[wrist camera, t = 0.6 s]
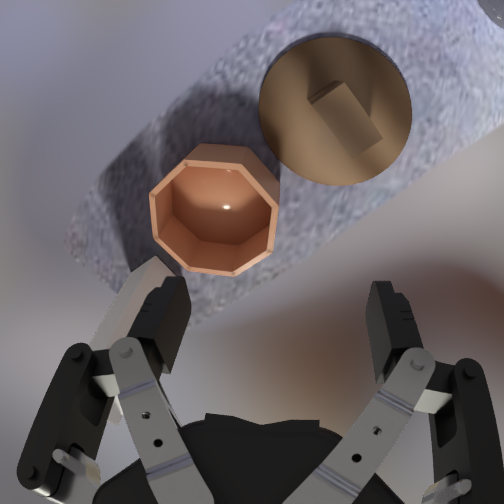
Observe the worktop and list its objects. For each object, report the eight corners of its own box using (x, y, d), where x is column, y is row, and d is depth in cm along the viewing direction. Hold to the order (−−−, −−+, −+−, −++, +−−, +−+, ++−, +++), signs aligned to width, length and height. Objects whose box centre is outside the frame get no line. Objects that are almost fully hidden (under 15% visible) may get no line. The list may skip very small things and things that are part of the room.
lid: (349, 11, 22) (364, 0, 17) (432, 134, 28) (457, 149, 23) (227, 98, 29) (215, 105, 24) (320, 208, 35) (326, 234, 30)
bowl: (225, 120, 30) (213, 133, 25) (300, 206, 35) (302, 233, 30) (149, 191, 36) (128, 214, 31) (220, 261, 40) (210, 291, 35)
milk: (155, 254, 41) (83, 392, 23) (185, 284, 43) (133, 425, 25) (129, 272, 43) (60, 399, 25) (158, 300, 46) (104, 428, 27)
